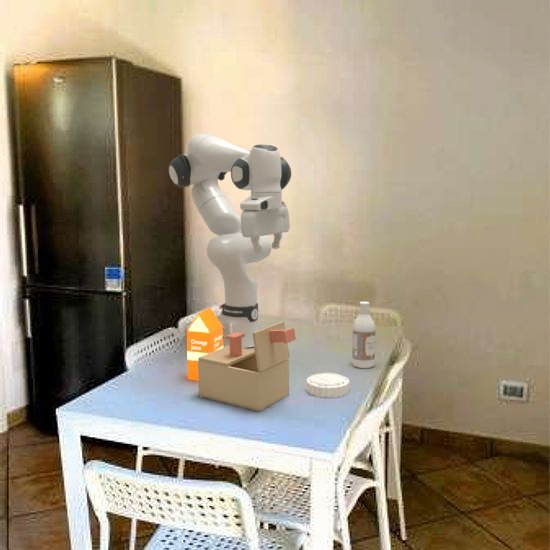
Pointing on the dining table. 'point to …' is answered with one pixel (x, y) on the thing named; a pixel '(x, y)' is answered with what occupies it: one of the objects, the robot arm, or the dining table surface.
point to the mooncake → (327, 385)
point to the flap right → (272, 345)
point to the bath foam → (363, 339)
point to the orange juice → (202, 339)
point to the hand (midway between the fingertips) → (266, 250)
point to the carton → (244, 383)
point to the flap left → (229, 352)
